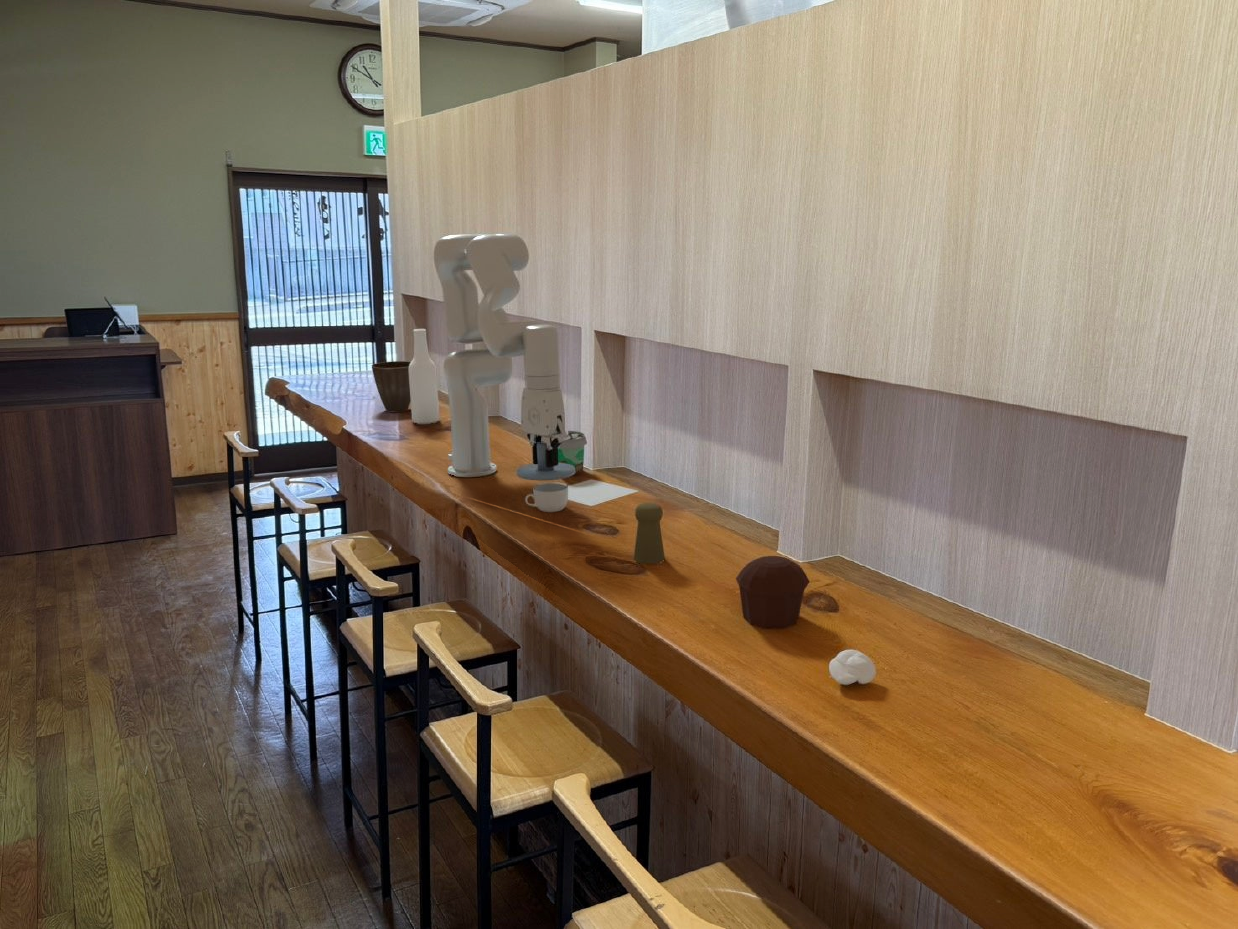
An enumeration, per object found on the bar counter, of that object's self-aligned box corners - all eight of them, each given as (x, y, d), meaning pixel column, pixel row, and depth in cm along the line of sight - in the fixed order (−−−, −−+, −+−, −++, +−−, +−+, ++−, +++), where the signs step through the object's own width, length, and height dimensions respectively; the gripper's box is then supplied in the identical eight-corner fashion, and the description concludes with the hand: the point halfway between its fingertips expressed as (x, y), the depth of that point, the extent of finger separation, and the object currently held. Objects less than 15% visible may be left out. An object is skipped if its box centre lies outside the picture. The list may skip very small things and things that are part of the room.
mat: (543, 494, 224) (543, 493, 224) (591, 480, 235) (591, 479, 235) (591, 507, 213) (591, 506, 213) (639, 492, 224) (639, 491, 224)
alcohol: (411, 420, 310) (404, 328, 302) (438, 418, 312) (432, 327, 305) (413, 425, 302) (406, 331, 294) (441, 423, 304) (435, 330, 297)
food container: (581, 480, 235) (580, 441, 233) (557, 479, 236) (556, 440, 234) (592, 468, 247) (591, 430, 244) (569, 467, 248) (568, 430, 245)
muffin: (751, 636, 146) (753, 576, 144) (724, 609, 157) (725, 552, 154) (820, 626, 150) (823, 567, 147) (789, 600, 160) (791, 544, 157)
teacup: (560, 503, 217) (559, 480, 215) (574, 512, 210) (573, 488, 209) (519, 509, 213) (518, 486, 211) (532, 518, 206) (531, 495, 205)
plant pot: (428, 407, 330) (424, 362, 326) (402, 415, 317) (398, 368, 313) (393, 404, 336) (389, 360, 332) (366, 412, 323) (362, 366, 319)
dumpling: (857, 670, 135) (858, 644, 134) (883, 685, 131) (884, 658, 130) (819, 681, 132) (820, 655, 131) (844, 697, 128) (845, 670, 127)
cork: (668, 563, 178) (667, 507, 175) (636, 566, 177) (635, 510, 174) (661, 552, 184) (661, 498, 181) (630, 555, 183) (630, 500, 180)
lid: (504, 473, 209) (502, 444, 207) (547, 462, 218) (546, 434, 216) (543, 483, 200) (542, 452, 198) (587, 471, 209) (586, 441, 207)
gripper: (504, 381, 207) (508, 462, 211) (555, 388, 196) (558, 474, 200) (530, 376, 212) (533, 456, 217) (581, 384, 201) (584, 467, 206)
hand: (545, 463), depth 208 cm, fingers closed on lid, 3 cm apart
